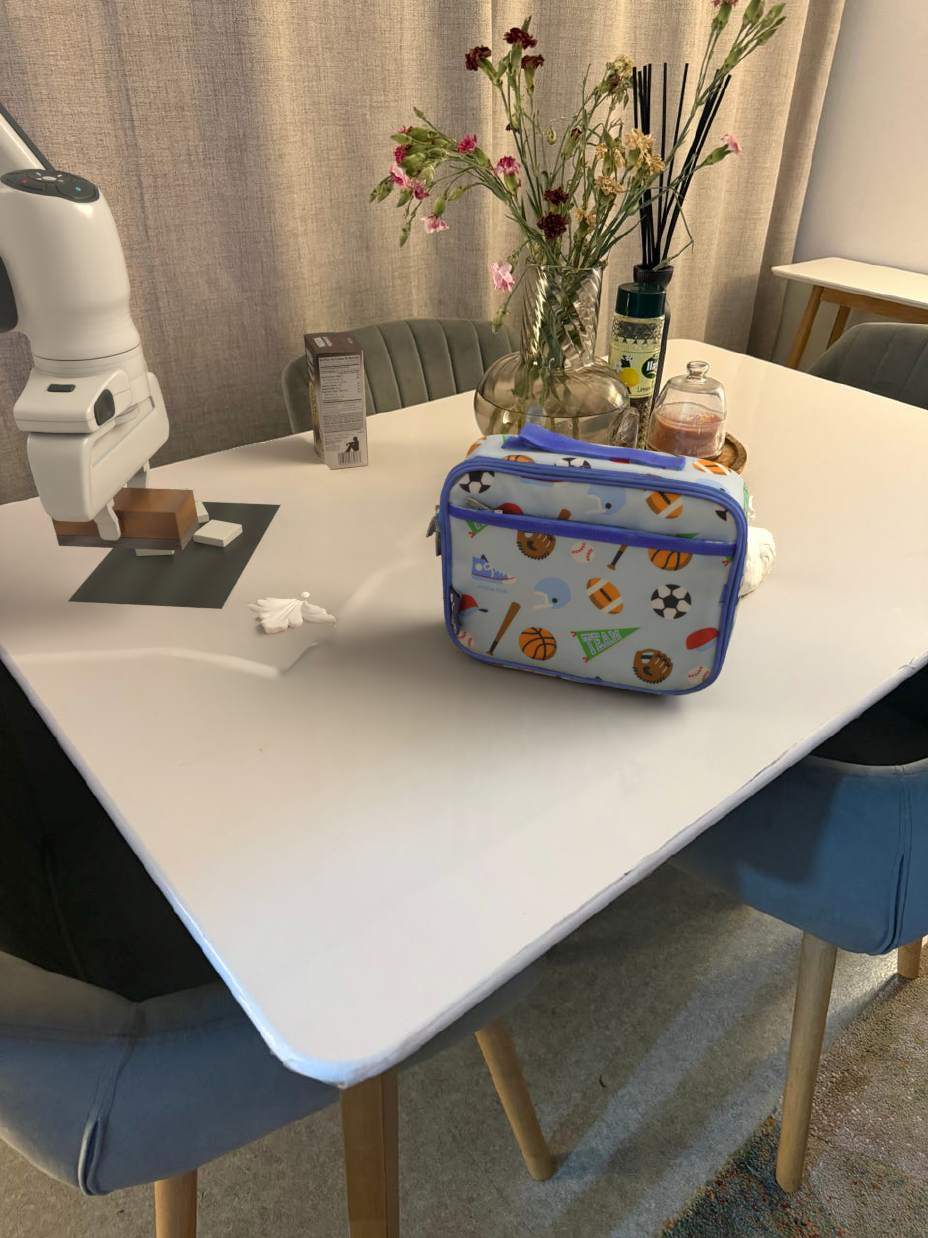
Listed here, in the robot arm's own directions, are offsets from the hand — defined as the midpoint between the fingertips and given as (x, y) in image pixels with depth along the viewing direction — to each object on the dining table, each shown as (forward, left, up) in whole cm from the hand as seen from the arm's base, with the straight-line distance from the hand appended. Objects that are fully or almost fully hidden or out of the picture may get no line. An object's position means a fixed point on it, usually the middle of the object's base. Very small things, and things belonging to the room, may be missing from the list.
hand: (126, 521), depth 85 cm
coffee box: (+12, +42, -11) cm, 45 cm away
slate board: (0, +12, -10) cm, 16 cm away
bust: (+60, +11, -11) cm, 62 cm away
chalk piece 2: (-2, +20, -9) cm, 22 cm away
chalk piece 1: (-3, +12, -9) cm, 16 cm away
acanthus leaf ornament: (+15, 0, -11) cm, 18 cm away
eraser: (0, 0, -2) cm, 2 cm away
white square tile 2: (+3, +15, -9) cm, 18 cm away
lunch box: (+43, -4, -11) cm, 45 cm away
